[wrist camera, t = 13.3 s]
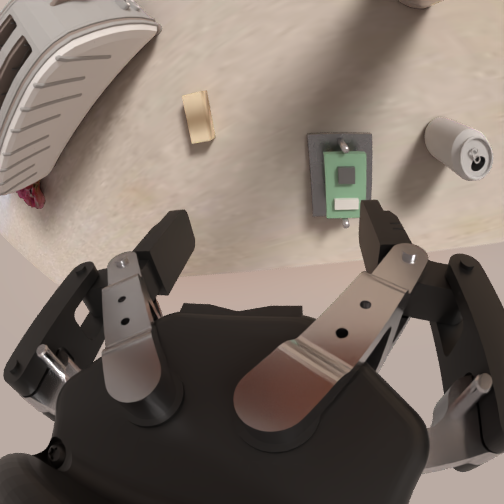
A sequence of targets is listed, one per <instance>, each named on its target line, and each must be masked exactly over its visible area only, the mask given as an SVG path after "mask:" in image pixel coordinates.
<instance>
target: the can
mask: <svg viewBox="0 0 504 504" xmlns="http://www.w3.org/2000/svg"><path fill="white" fill-rule="evenodd" d="M424 137H425V144H426V147H427V150H428V151H429V152H430V154H431V155H432V156H433V157H435V158H436V159H438V160H439V161H440V162H442V163H443V164H444V165H446V166H447V167H448V168H450V169H451V170H452V171H454V172H455V173H456V174H458V175H459V176H460V177H461V178H463V179H465V180H468V181H472V180H481V179H483V178H484V177H485V176H486V175H487V174H488V173H489V171H490V170H491V168H492V164H493V151H492V147H491V145H490V144H489V142H488V140H487V138H486V137H485V135H484V134H483V133H481V132H480V131H478V130H476V129H474V128H471V127H469V126H467V125H464V124H462V123H459V122H457V121H454V120H451V119H449V118H446V117H437V118H435V119H433V120H432V121H431V122H430V123H429V124H428V126H427V128H426V130H425V136H424Z"/></svg>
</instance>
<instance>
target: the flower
mask: <svg viewBox="0 0 504 504" xmlns="http://www.w3.org/2000/svg"><path fill="white" fill-rule="evenodd" d="M40 181H41V179H40V180H38V181H37V182H35V183H33V184H31V185H29V186H27V187H25V188H23V189H21V190H18V191H16V193H18V196H19V197H20V198H23V199H24V201H25V202H26V203H27V204H28V205H29V206H31V207H36V208H37V209H39V208H40V209H41V208H43V206H44V204H45V198H44V195H43V193H42V192H41V190H40V184H39V183H40Z"/></svg>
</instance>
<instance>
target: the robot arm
mask: <svg viewBox="0 0 504 504" xmlns="http://www.w3.org/2000/svg"><path fill="white" fill-rule="evenodd" d="M398 1H400V2H401V3H403V4H405V5H407V6H409V7H412V8H418V9H423V8H427V7H430V6H432V5H434V4H436V3H439V2H441V1H443V0H398ZM359 244H360V248H361V252H362V256H363V260H364V264H365V268H366V271H363V272H361V273H360V274H359V275H358V276H357V277H356V279H355V280H354V281H353V282H352V283H351V284H350V285H349V286H348V288H346V289H345V291H344V292H343V293H342V294H341V295H340V296H339V297H338V298H337V299H336V300H335V301H334V302H333V303H332V304H331V305H330V306H329V307H328V308H327V309H326V310H325V311H324V312H323V313H322V314H321V315H320V316H319V318H317V319H315V318H312V317H308V316H304V315H303V313H302V306H267V307H262V308H256V309H250V310H244V311H233V310H230V309H226V308H222V307H218V306H214V305H210V304H188V303H184V304H183V306H182V308H181V310H180V312H176V313H172V314H169V315H166V316H163V315H162V312H161V309H160V306H159V303H158V301H157V300H156V296H157V295H169V293H170V291H171V290H172V288H173V286H174V284H175V282H176V281H177V279H178V277H179V275H180V273H181V272H182V270H183V268H184V266H185V265H186V263H187V261H188V259H189V258H190V256H191V254H192V252H193V251H194V248H195V238H194V234H193V231H192V227H191V224H190V220H189V217H188V214H187V212H186V210H174V211H169V212H168V213H167V214H166V216H165V217H164V218H163V219H162V220H161V221H160V222H159V223H158V224H157V225H155V226H154V227H153V228H152V229H151V230H150V231H149V232H148V234H147V235H146V236H145V237H144V239H142V240H141V242H140V243H139V244H138V245H137V246H136V248H135V249H134V250H133V251H132V252H131V251H129V252H124V253H121V254H119V255H117V256H115V257H114V258H113V259H112V260H111V261H110V262H109V263H108V266H107V268H106V269H102V270H98V271H97V269H96V267H95V265H94V263H93V262H85V263H82V264H80V265H78V266H77V267H76V268H74V269H73V270H72V271H71V273H70V274H69V275H68V276H67V277H66V279H65V280H64V281H63V282H62V284H61V285H60V286H59V288H58V289H57V290H56V291H55V293H54V294H53V295H52V297H51V298H50V299H49V301H48V302H47V303H46V305H45V306H44V307H43V309H42V310H41V312H40V313H39V315H38V316H37V317H36V319H35V320H34V321H33V323H32V324H31V326H30V327H29V329H28V330H27V332H26V334H25V335H24V336H23V338H22V340H21V341H20V343H19V344H18V346H17V347H16V349H15V351H14V352H13V354H12V356H11V357H10V359H9V361H8V362H7V364H6V367H5V369H4V379H5V381H6V382H7V383H8V384H9V385H10V386H11V387H12V388H13V389H14V390H16V391H17V392H18V393H19V395H20V396H21V397H22V398H23V399H25V400H26V401H27V402H28V403H29V404H31V405H32V406H33V407H34V408H36V409H37V410H38V411H40V412H42V413H43V414H44V415H46V416H47V417H49V418H50V419H51V420H53V421H55V423H54V429H53V433H52V438H51V441H50V443H49V445H48V447H47V448H46V449H45V450H44V451H42V452H41V453H38V454H35V455H29V454H24V453H13V454H8V455H6V456H4V457H2V458H1V459H0V504H408V503H409V500H410V498H411V495H412V493H413V490H414V488H415V486H416V484H417V482H418V480H419V478H420V476H421V474H425V473H430V472H435V471H440V470H444V469H448V468H454V469H455V470H457V471H460V472H466V471H469V470H472V469H474V468H476V467H478V466H480V465H482V464H484V463H486V462H488V461H489V460H491V459H493V458H495V457H497V456H498V455H500V454H502V453H504V308H503V306H502V304H501V302H500V300H499V298H498V296H497V294H496V292H495V290H494V288H493V286H492V284H491V283H490V280H489V279H488V277H487V275H486V273H485V271H484V270H483V268H482V266H481V265H480V263H479V262H478V261H477V260H476V259H474V258H473V257H471V256H469V255H465V254H455V255H453V256H451V257H450V260H449V263H448V265H447V264H442V263H437V262H433V261H430V260H428V255H427V253H426V251H425V250H424V249H422V248H421V247H419V246H417V245H414V244H412V243H411V241H410V239H409V237H408V235H407V233H406V232H405V230H404V228H403V226H402V224H401V223H400V221H399V219H398V217H397V216H396V215H394V214H393V213H392V212H390V211H383V209H382V207H381V205H380V203H379V201H378V200H361V202H360V220H359ZM82 300H83V302H84V303H85V305H86V306H87V308H88V310H89V311H90V312H89V314H88V315H87V317H86V319H85V320H84V322H83V323H82V325H81V327H80V326H79V325H78V324H77V322H76V320H75V317H74V313H75V310H76V308H77V307H78V305H79V304H80V302H81V301H82ZM411 317H412V318H417V319H422V320H428V321H430V325H431V329H432V333H433V337H434V342H435V346H436V351H437V356H438V361H439V366H440V371H441V377H442V383H443V390H444V395H443V397H442V398H441V399H440V400H439V401H438V402H437V404H436V406H435V408H434V411H433V421H432V425H431V427H430V428H426V425H425V423H424V421H423V420H422V418H421V417H420V416H419V414H418V413H417V412H416V411H415V410H414V409H413V408H412V407H411V406H409V404H408V403H407V402H406V401H405V400H404V399H403V398H402V397H401V396H400V395H399V394H398V393H397V392H396V391H395V390H394V389H393V388H392V387H391V386H390V385H389V384H388V383H387V382H386V381H385V380H384V379H383V378H382V377H381V376H380V375H379V374H378V372H379V371H380V369H381V367H382V366H383V364H384V362H385V360H386V358H387V356H388V354H389V353H390V351H391V349H392V348H393V346H394V345H395V343H396V341H397V340H398V338H399V336H400V335H401V333H402V332H403V330H404V328H405V326H406V325H407V323H408V321H409V320H410V318H411ZM104 340H105V346H106V347H105V349H104V350H103V351H102V357H100V358H99V359H98V360H96V361H94V359H95V357H96V355H97V353H98V351H99V349H100V347H101V345H102V344H103V342H104ZM93 361H94V362H93Z"/></svg>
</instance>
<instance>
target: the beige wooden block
mask: <svg viewBox="0 0 504 504" xmlns="http://www.w3.org/2000/svg"><path fill="white" fill-rule="evenodd" d="M182 99H183V104H184V109H185V114H186V119H187V123H188V128H189V133H190V137H191V142H192V144H194V143H199V142H205V141H210V140H212V139H213V138H215V132H214V126H213V121H212V116H211V111H210V105H209V100H208V95H207V91H200V92H195V93H191V94H187V95H183V96H182Z"/></svg>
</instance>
